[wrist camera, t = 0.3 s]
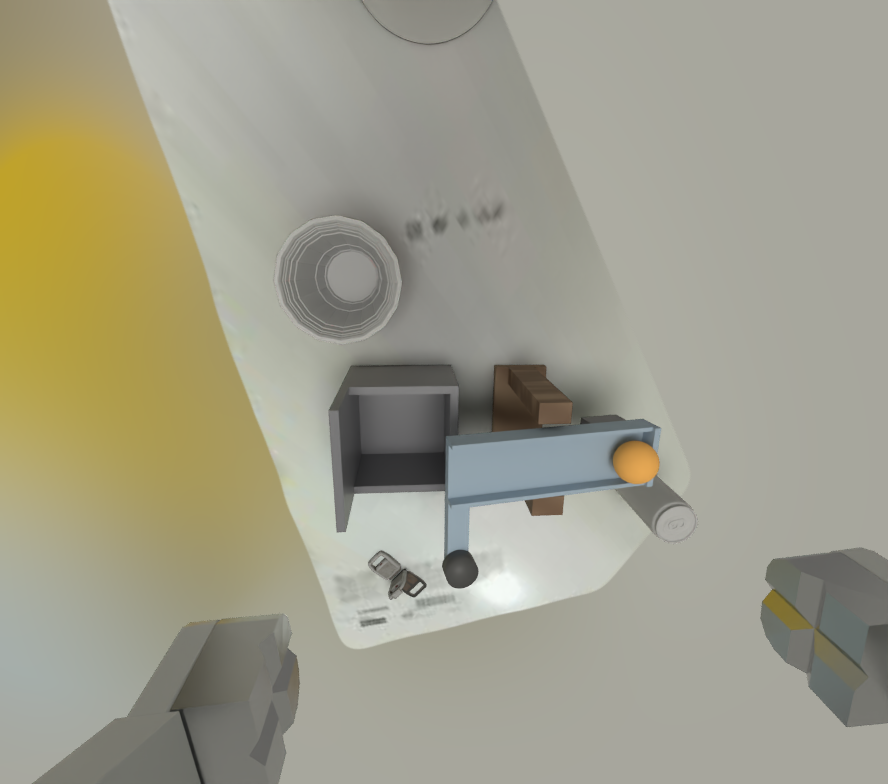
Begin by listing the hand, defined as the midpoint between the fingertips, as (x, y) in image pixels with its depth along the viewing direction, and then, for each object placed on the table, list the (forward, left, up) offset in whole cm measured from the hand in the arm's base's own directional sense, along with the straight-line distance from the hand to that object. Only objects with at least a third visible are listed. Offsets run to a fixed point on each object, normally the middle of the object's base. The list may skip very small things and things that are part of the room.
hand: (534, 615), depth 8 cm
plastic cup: (-3, -8, -47) cm, 48 cm away
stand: (+13, +11, -47) cm, 50 cm away
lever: (+17, +10, -36) cm, 41 cm away
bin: (+13, -3, -47) cm, 49 cm away
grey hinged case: (+36, -4, -48) cm, 60 cm away
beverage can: (+22, +26, -47) cm, 58 cm away
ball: (+13, +19, -32) cm, 39 cm away
